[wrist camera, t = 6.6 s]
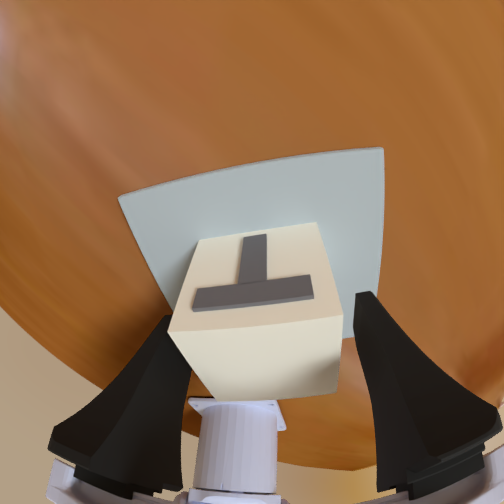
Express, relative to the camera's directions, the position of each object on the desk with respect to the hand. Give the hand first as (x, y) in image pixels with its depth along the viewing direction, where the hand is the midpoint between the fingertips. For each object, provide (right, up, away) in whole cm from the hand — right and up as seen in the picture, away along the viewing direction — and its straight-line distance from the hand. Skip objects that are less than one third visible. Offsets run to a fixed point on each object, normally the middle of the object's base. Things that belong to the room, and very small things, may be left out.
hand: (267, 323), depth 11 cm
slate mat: (0, +2, +2) cm, 3 cm away
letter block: (0, +2, +2) cm, 3 cm away
